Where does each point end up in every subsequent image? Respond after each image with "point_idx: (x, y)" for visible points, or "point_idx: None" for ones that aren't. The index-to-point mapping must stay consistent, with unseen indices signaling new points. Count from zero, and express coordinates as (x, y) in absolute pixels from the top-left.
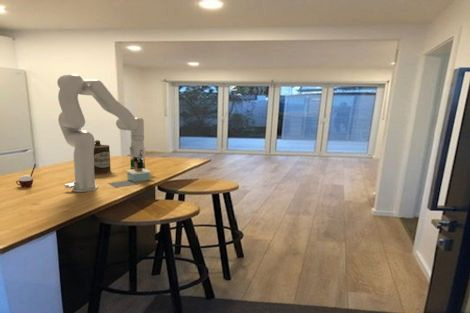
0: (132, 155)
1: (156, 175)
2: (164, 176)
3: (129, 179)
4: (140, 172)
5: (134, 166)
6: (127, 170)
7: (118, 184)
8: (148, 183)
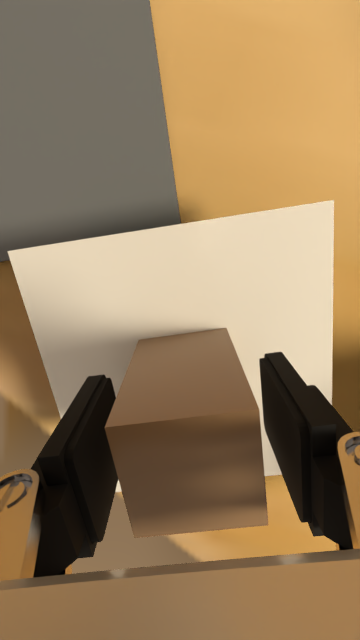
0: (339, 587)
1: (285, 501)
2: (213, 535)
3: None
4: (47, 364)
5: (226, 356)
6: (282, 232)
7: (11, 49)
8: (4, 364)
